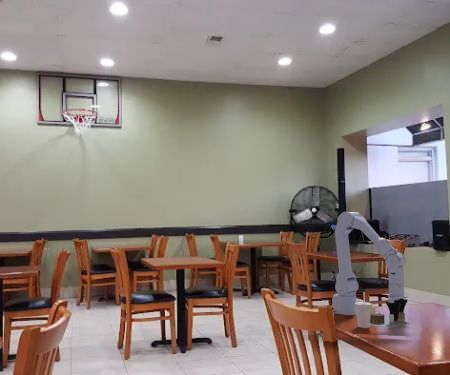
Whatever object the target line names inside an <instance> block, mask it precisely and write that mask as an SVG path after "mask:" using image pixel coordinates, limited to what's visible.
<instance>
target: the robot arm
mask: <svg viewBox="0 0 450 375" xmlns="http://www.w3.org/2000/svg"><path fill="white" fill-rule="evenodd" d="M336 219H337V222H336V226H335V228H334V236H335V237H334V238H335V245H336V248H335V249H336V255H337V257H336V258H337V263H338V265H337V266H338V274H337V276H336V277H335V279H336V280H335V281H336V282H335V286H334V288H335V291H336V293H335V294H333V296H332V300H331V303H332V304H331V305H332V307H333V308H334V309H335V311H334V313H333V314H338V315H344V316H356V315H357V314H356V307H355V306H354V305H355V303H356V302H357V291H358V290H359V281H357V278H356V274H355V273H354V272H353V266H352V259H351V248H350V242H349V234H350V233H351V232H352V231H353V230H354V229H355V230H356V229H357V230H360V231H361V232H362V233H363V234H364V235H365V236H366V237H367V238H368V239H369V240H370V241H371V242H372V243H373V248H374V249H375V250H376V251H377V253H378V254H379V255H380V256H381V257H382V259H384V260H385V262H384V263H385V265H386V266H387V272H388V273H387V274H388V297H387V300H386V301H385V304H386V306H387V307H388V311H389V314H393V315H394V320H396V321H397V320H398V316H399V312H403V313H405V308H406V305H407V303H408V295H406V293H405V271H404V266H405V265H406V263H407V259H406V257H405V255H404V254H403V253H402V252H398V251H399V250H398V249H396V248H395V247H393V246H392V243H391V244H390V240H389V239H386V238H384V237H381V236H380V235H379V234H378V233H377V232H376V231H375V229H373V227H372V225H370V224H369V222H368V221H367V220H366V218H365V217H364V216H362V214H361V213H360V212H358V211H343V212H342V213H340V214H339V215H338V216H337V218H336ZM332 307H331V308H332Z"/></svg>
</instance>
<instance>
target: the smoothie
mask: <svg viewBox="0 0 450 375" xmlns="http://www.w3.org/2000/svg"><path fill="white" fill-rule="evenodd" d="M362 294H363V301H356V303H355V305H354V306H355V307H356V314H355V315H356V318H357V319H356V320H357V327H359V328H360V329H361V328H362V329H368V328H370V327H371V325H370V317H371V313H372V308H373V303H372V302H368V301H366V292H365V291H363V293H362Z"/></svg>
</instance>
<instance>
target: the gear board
mask: <svg viewBox="0 0 450 375" xmlns="http://www.w3.org/2000/svg"><path fill="white" fill-rule="evenodd" d="M374 313H375V315H379V313H380V312H374ZM384 320H385V323H381V324H379V323H372V322H370V326H373V327H381V328H387V329H388V328H389V329H397V328H398V327H400V326H401V325H403V324H405V323H407V322H409V321H410V319H406V318H405V321H404V322H396V321H394V315H393V314H390V313H389V315H388V316H384Z"/></svg>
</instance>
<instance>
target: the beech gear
mask: <svg viewBox="0 0 450 375" xmlns="http://www.w3.org/2000/svg"><path fill="white" fill-rule="evenodd" d="M405 315H406V314H405V312H404V313H403V312H399V316H398V320H397V321H396V320H394V321H396V322H404V321H405V319H406V316H405Z"/></svg>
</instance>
